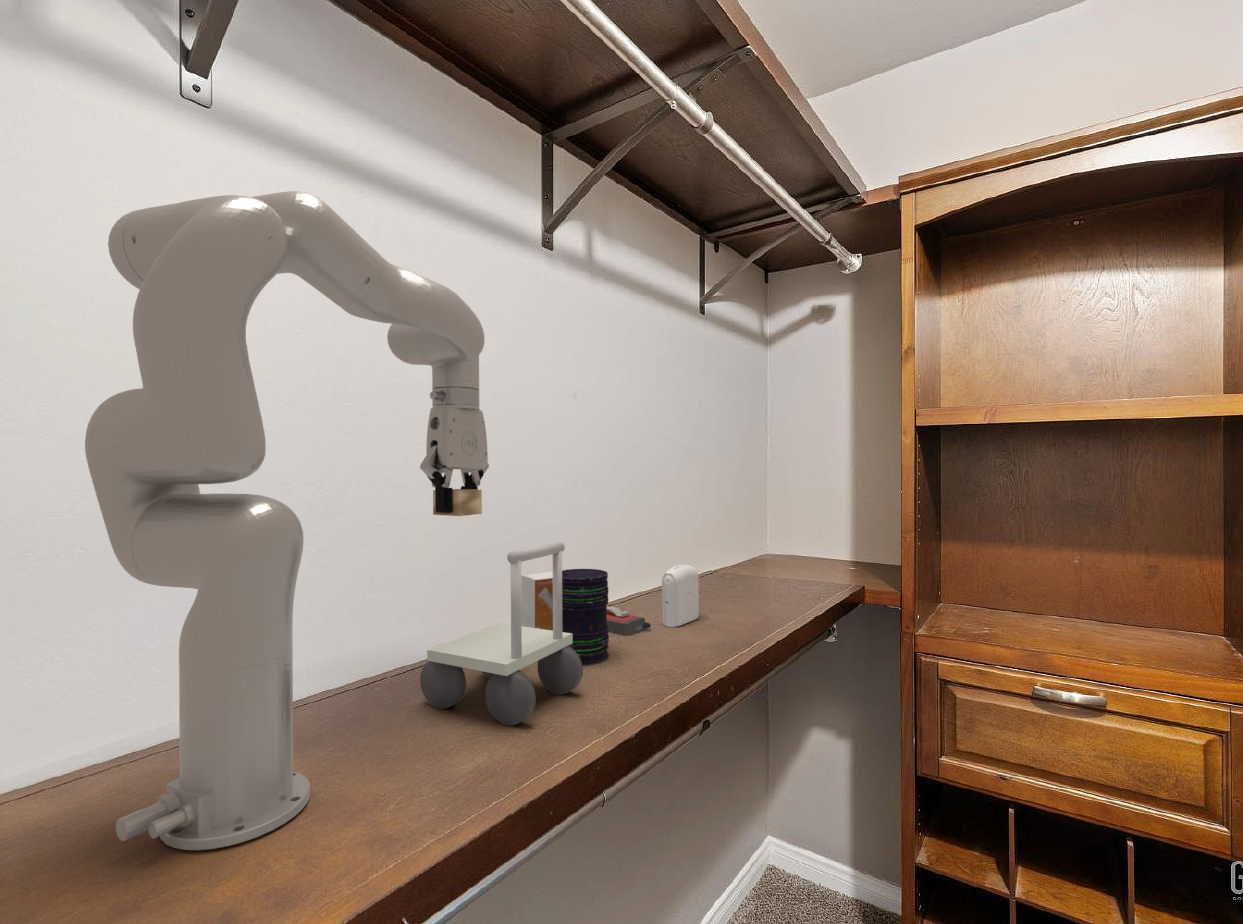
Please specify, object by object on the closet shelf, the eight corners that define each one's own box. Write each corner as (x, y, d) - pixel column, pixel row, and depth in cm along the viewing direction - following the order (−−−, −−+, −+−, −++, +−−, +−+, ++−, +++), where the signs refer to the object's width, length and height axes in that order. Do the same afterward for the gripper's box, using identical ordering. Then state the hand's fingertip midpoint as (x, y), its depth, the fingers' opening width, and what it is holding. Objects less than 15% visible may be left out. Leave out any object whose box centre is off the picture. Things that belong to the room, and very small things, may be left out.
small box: (534, 649, 113) (534, 579, 113) (520, 641, 118) (520, 574, 118) (572, 642, 117) (572, 575, 117) (557, 634, 123) (557, 570, 123)
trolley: (522, 733, 77) (521, 555, 77) (414, 707, 86) (413, 547, 86) (586, 691, 91) (585, 541, 92) (488, 672, 100) (487, 535, 100)
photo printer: (676, 629, 126) (675, 569, 126) (659, 625, 129) (658, 567, 129) (701, 619, 134) (701, 563, 134) (685, 616, 137) (685, 561, 137)
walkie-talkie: (657, 630, 127) (587, 615, 140) (657, 609, 127) (587, 596, 140) (631, 639, 120) (560, 623, 133) (631, 617, 120) (560, 603, 133)
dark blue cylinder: (600, 646, 114) (599, 567, 115) (616, 662, 105) (615, 576, 105) (548, 651, 111) (548, 570, 111) (560, 668, 102) (559, 580, 102)
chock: (459, 516, 96) (458, 491, 96) (433, 514, 99) (432, 490, 99) (481, 513, 100) (481, 489, 100) (456, 512, 103) (456, 488, 103)
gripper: (434, 395, 90) (435, 516, 90) (506, 404, 106) (507, 508, 106) (398, 397, 94) (400, 514, 94) (473, 406, 109) (474, 506, 109)
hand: (457, 509), depth 100 cm, fingers closed on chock, 5 cm apart
